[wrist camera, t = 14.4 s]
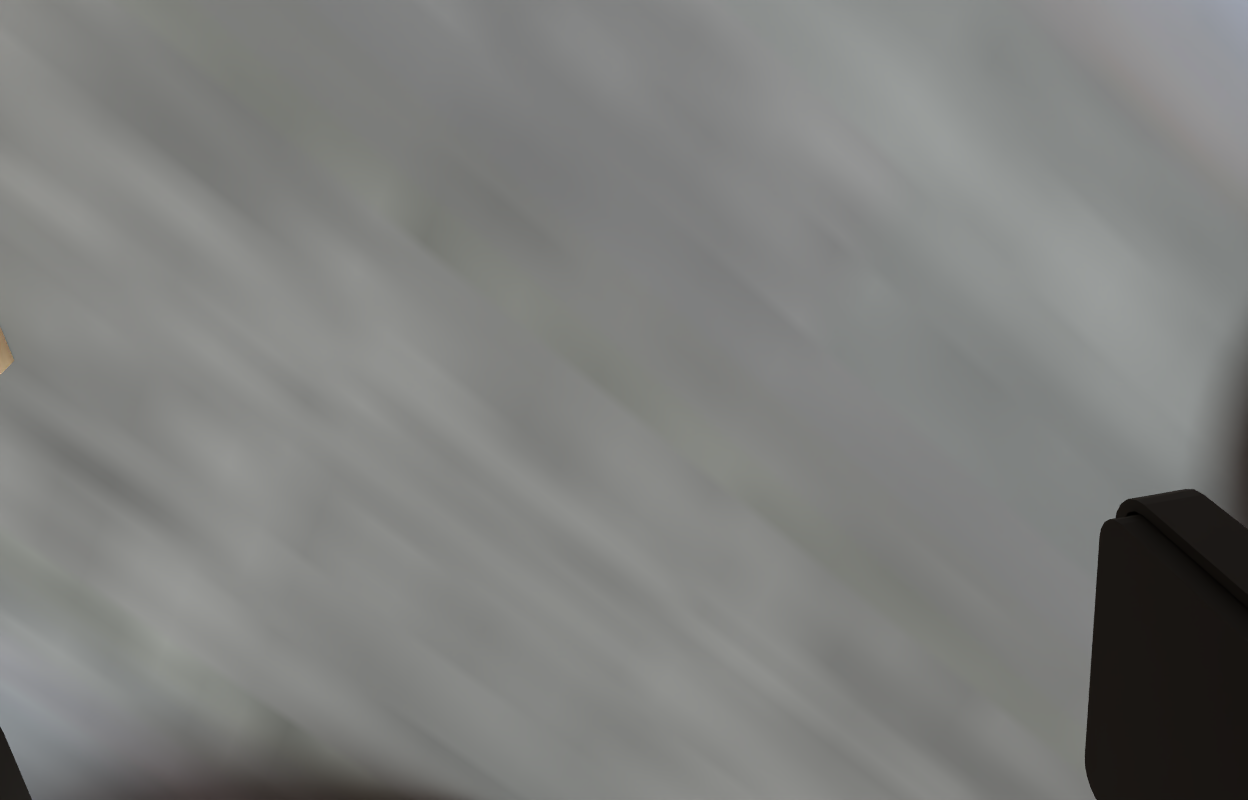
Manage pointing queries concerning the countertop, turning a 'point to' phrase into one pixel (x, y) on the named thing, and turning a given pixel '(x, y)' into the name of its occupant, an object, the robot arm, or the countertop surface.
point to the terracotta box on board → (4, 354)
